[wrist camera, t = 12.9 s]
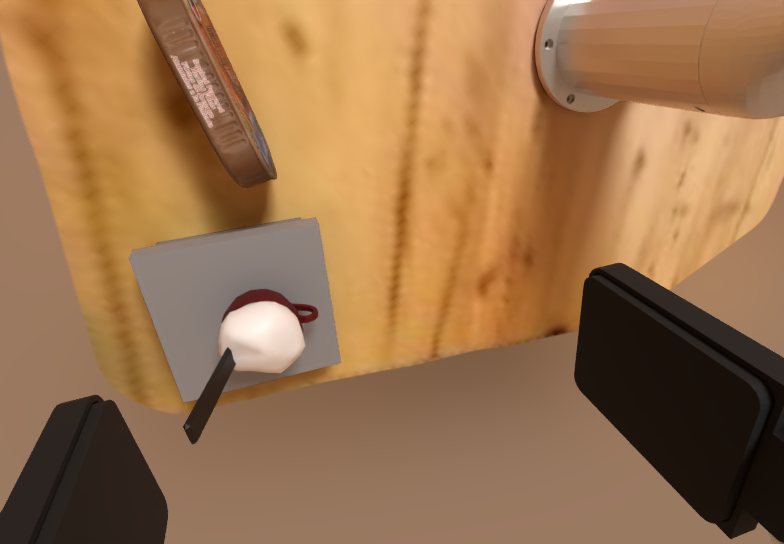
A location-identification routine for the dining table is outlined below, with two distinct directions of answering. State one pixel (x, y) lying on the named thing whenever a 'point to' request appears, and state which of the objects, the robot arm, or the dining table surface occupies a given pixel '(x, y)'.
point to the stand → (234, 295)
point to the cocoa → (252, 345)
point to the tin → (211, 87)
